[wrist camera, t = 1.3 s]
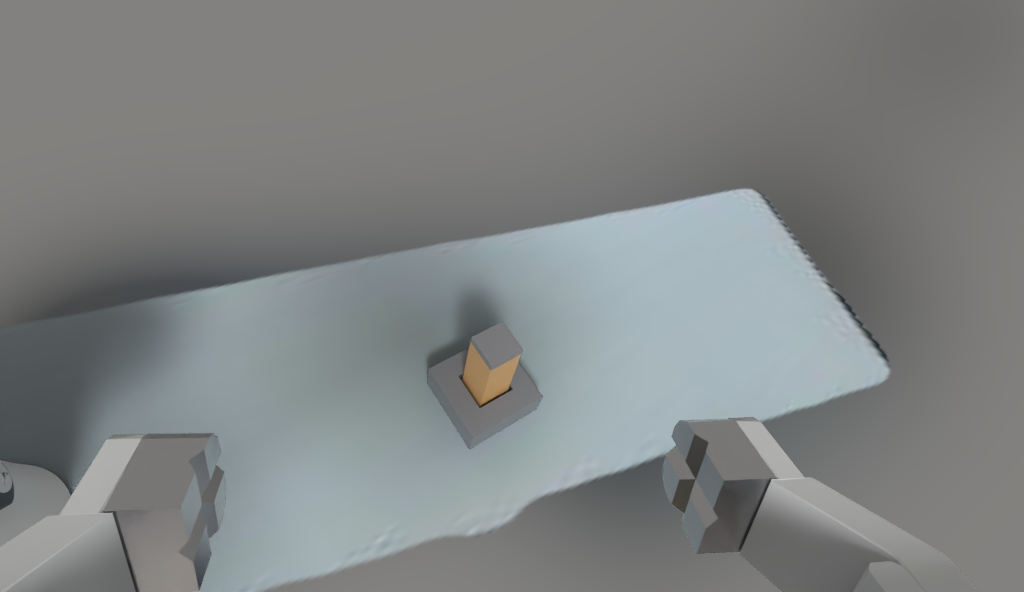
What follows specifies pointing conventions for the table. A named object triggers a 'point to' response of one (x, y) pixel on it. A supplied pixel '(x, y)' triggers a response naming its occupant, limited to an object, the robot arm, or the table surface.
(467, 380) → the plug
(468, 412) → the grey square block
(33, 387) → the table surface
